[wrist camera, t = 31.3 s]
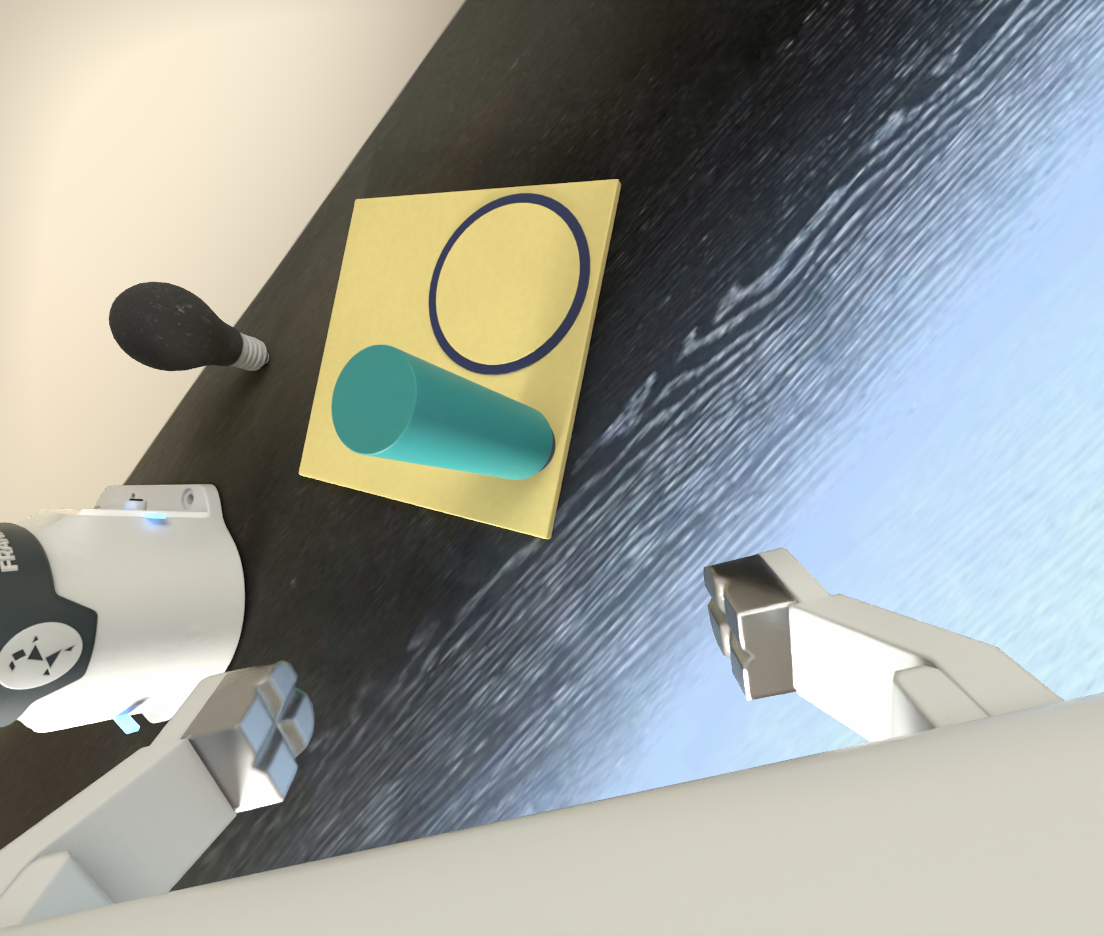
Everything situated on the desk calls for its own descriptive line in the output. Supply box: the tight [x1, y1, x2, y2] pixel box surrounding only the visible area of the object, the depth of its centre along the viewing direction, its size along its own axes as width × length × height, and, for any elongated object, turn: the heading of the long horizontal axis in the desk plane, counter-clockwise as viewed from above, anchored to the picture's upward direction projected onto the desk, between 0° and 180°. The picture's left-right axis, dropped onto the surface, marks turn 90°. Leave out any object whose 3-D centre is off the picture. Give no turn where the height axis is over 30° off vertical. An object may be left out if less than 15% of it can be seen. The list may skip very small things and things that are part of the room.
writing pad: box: [299, 179, 621, 539], centre depth 33 cm, size 20×20×1 cm
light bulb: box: [109, 282, 269, 371], centre depth 37 cm, size 6×6×10 cm
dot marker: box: [331, 345, 556, 480], centre depth 24 cm, size 4×4×12 cm
